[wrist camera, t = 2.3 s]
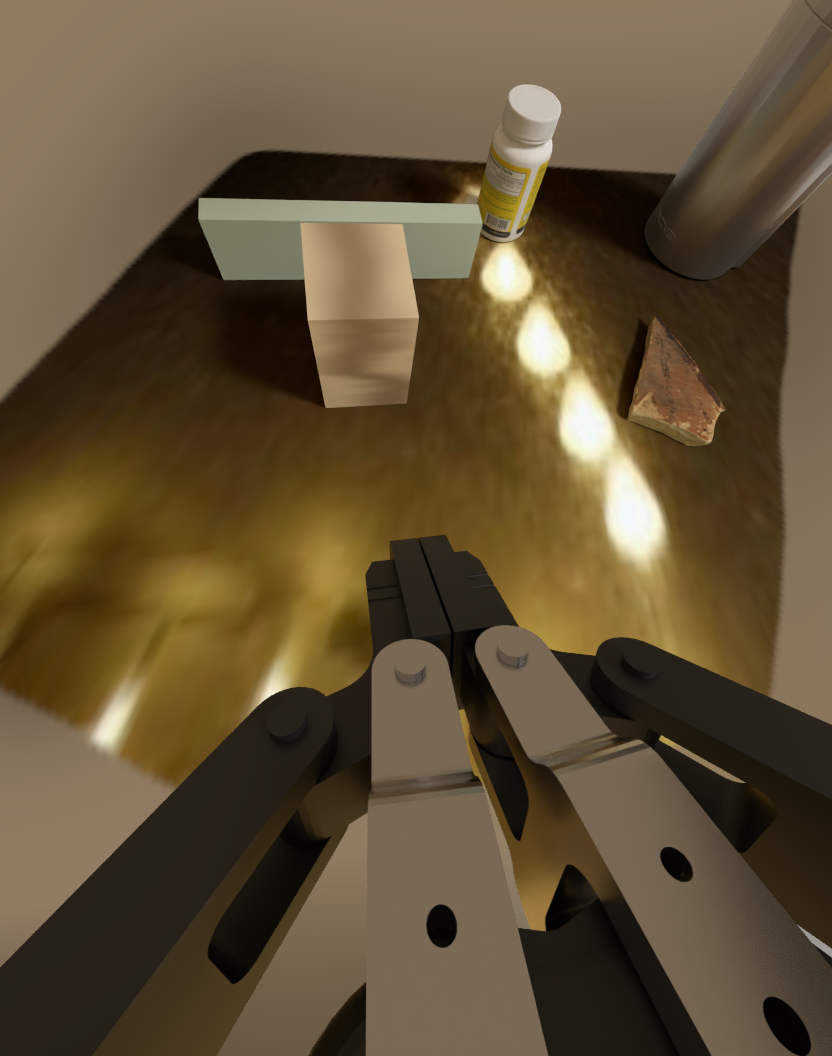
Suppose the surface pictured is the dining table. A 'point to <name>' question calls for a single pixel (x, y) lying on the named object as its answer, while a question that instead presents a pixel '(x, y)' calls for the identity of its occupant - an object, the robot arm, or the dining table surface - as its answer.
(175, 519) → the dining table surface
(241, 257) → the sage fence board
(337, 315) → the birch block
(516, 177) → the supplement bottle
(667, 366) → the shard
